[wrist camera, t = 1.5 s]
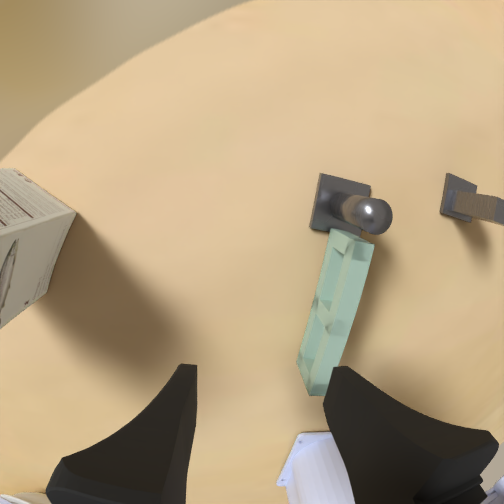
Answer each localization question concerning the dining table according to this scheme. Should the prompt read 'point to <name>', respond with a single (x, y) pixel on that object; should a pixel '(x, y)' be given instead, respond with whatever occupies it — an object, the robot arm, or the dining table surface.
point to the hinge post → (348, 207)
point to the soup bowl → (27, 498)
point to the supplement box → (27, 241)
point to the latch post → (470, 202)
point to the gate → (333, 308)
